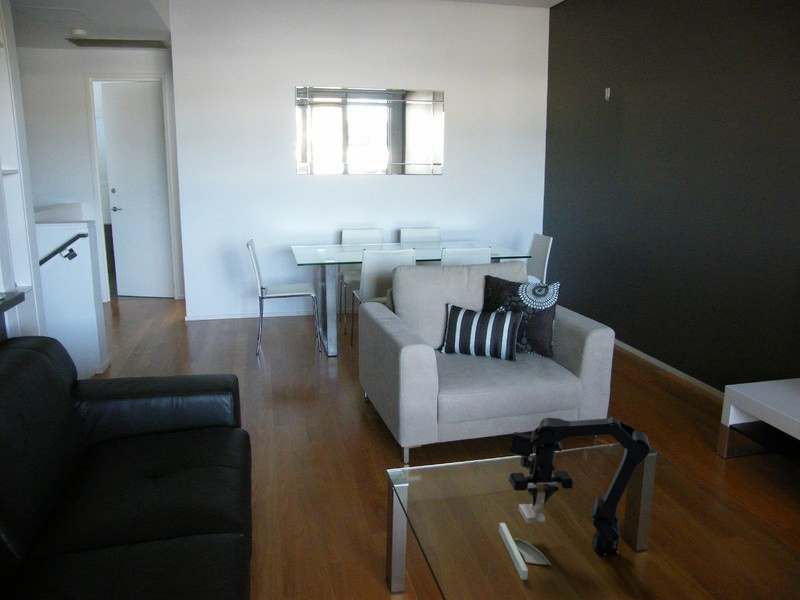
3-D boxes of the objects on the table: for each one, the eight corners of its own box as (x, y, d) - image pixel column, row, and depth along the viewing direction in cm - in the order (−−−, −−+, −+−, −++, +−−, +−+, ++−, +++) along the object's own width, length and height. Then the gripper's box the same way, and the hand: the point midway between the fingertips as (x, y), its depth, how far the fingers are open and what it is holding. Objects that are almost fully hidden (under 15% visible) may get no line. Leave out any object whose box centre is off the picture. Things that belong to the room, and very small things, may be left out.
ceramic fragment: (552, 567, 190) (553, 555, 189) (541, 574, 187) (542, 563, 186) (514, 543, 200) (515, 532, 199) (503, 550, 197) (504, 539, 196)
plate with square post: (536, 508, 206) (539, 484, 203) (544, 521, 199) (548, 496, 197) (518, 508, 205) (521, 484, 202) (526, 522, 198) (529, 497, 196)
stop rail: (503, 531, 205) (504, 522, 204) (527, 579, 184) (528, 570, 183) (498, 531, 205) (499, 523, 204) (521, 579, 184) (522, 570, 183)
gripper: (562, 445, 206) (555, 488, 211) (505, 447, 203) (500, 491, 207) (577, 464, 196) (570, 509, 200) (518, 466, 192) (512, 512, 197)
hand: (537, 504), depth 201 cm, fingers closed on plate with square post, 2 cm apart
